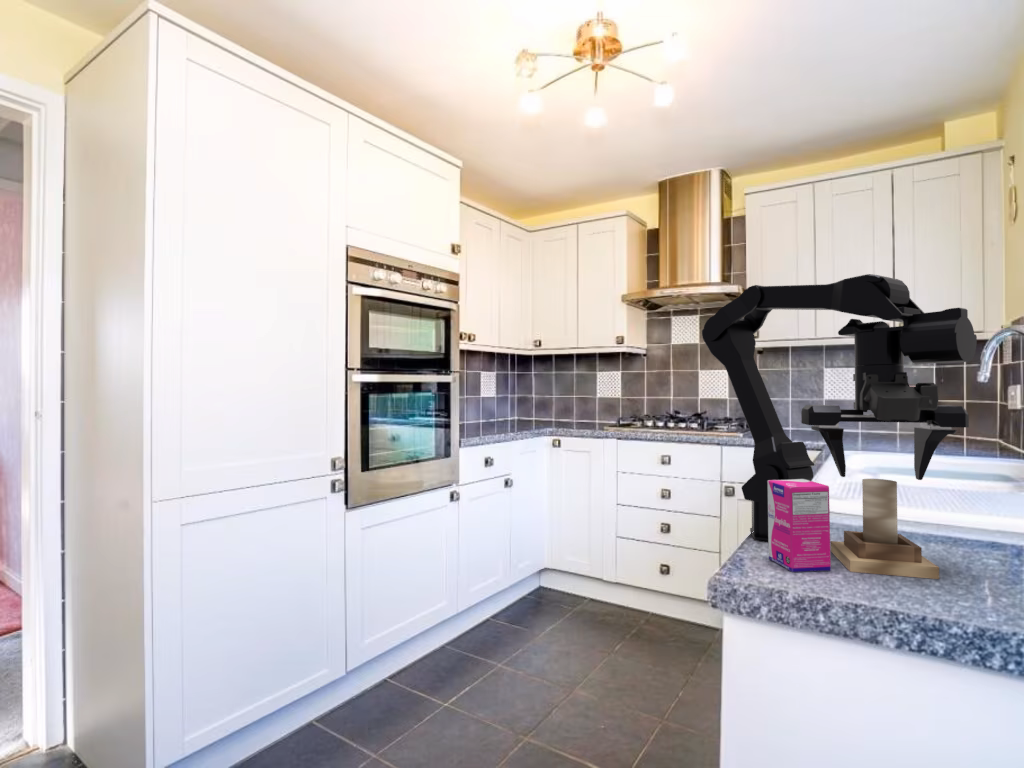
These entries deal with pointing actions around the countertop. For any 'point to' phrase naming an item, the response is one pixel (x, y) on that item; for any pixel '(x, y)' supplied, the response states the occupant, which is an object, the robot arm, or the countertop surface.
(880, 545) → the seat board
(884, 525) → the stool leg
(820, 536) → the supplement box
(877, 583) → the countertop surface
